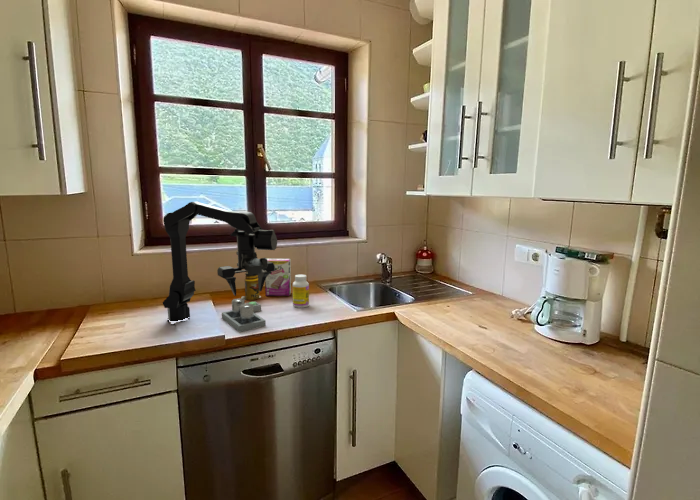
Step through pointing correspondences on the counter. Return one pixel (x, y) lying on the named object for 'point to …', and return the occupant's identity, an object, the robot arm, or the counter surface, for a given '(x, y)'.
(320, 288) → the counter surface
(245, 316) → the billet
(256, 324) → the grey divided tray
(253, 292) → the condiment
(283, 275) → the candy bar box
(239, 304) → the seated billet
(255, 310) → the button collar
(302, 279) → the supplement bottle
